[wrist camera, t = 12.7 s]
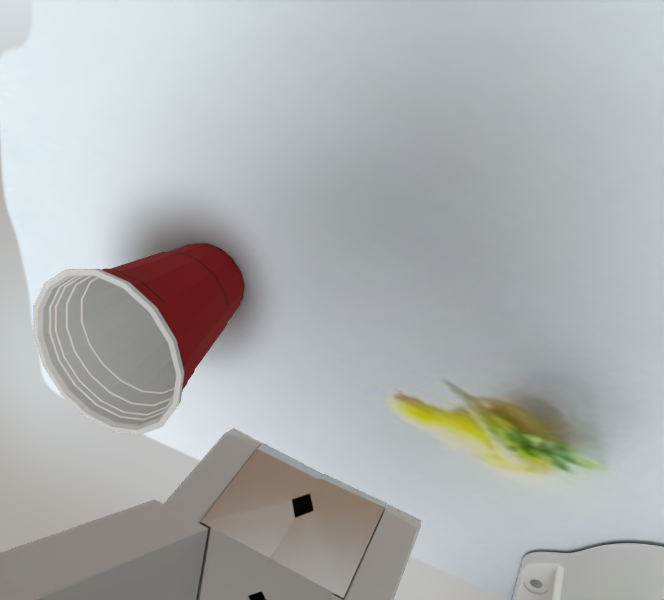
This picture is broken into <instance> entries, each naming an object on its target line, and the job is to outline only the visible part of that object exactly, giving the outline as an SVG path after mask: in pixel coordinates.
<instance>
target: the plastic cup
mask: <svg viewBox="0 0 664 600" xmlns="http://www.w3.org/2000/svg"><path fill="white" fill-rule="evenodd" d="M243 291H244V284H243V280H242V276H241V272H240V270H239V269H238V267H237V266H236V264H235V262H234V261H233V259H232V258H231V257H229V256H228V255H227V254H226V253H225V252H224V251H222V250H221V249H219V248H217V247H214V246H212V245H209V244H193V245H186V246H184V247H181V248H178V249H175V250H172V251H169V252H162V253H159V254H156V255H153V256H149V257H146V258H143V259H140V260H137V261H134V262H130V263H127V264H124V265H121V266H118V267H114V268H111V269H103V270H100V269H68V270H64V271H62V272H61V273H59V274H58V275H56V276H55V277H53V278H52V279H50V280H48V281H47V282H45V283H44V285H43V287H42V289H41V292H40V294H39V296H38V298H37V300H36V302H35V305H34V339H35V342H36V345H37V348H38V351H39V354H40V357H41V360H42V363H43V366H44V368H45V370H46V371H47V373H48V374H49V376H50V377H51V379H52V380H53V382H54V384H55V385H56V387H57V388H58V390H59V391H60V393H61V394H62V396H64V397H65V398H66V399H67V400H68V401H69V402H70V403H71V404H72V405H73V406H74V407H75V408H76V409H78V410H79V411H80V412H81V413H82V414H83V415H84V416H85V417H86V418H88V419H90V420H92V421H94V422H96V423H98V424H100V425H102V426H103V427H105V428H107V429H109V430H111V431H113V432H121V433H129V434H137V435H141V434H144V433H146V432H149V431H152V430H154V429H157V428H160V427H162V426H163V425H164V424H165V423H166V421H167V420H168V419H169V417H170V416H171V415H172V413H173V412H174V411H175V409H176V408H177V407H178V405H179V403H180V401H181V395H182V391H183V388H184V387H185V386H186V384H187V381H188V380H189V379H190V377H191V376H192V374H193V373H194V370H195V368H196V367H197V365H198V364H199V363H200V361H201V360H202V359H203V357H204V356H205V354H206V353H207V352H208V350H209V349H210V348H211V346H212V345H213V343H214V342H215V341H216V339H217V338H218V337H219V335H220V334H221V332H222V331H223V329H224V328H225V327H226V325H227V322H228V321H229V319H230V318H231V316H232V315H233V314H234V312H235V311H236V309H237V308H238V307H239V305H240V302H241V300H242V298H243Z"/></svg>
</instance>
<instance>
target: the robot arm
mask: <svg viewBox="0 0 664 600" xmlns="http://www.w3.org/2000/svg"><path fill="white" fill-rule="evenodd" d="M386 505H387V503H385V502H383V501H381V500H379V499H377V498H374V497H372V496H370V495H368V494H366V493H364V492H362V491H360V490H358V489H355V488H353V487H351V486H349V485H347V484H345V483H343V482H341V481H339V480H336V479H334V478H332V477H330V476H328V475H326V474H322V473H320V472H318V471H316V470H314V469H312V468H310V467H308V466H306V465H304V464H302V463H301V462H299V461H297V460H295V459H293V458H291V457H289V456H287V455H285V454H283V453H281V452H279V451H277V450H276V449H274V448H272V447H270V446H268V445H266V444H264V443H261V442H259V441H257V440H255V439H253V438H252V437H250V436H248V435H246V434H244V433H242V432H240V431H238V430H236V429H232V430H230V431H229V432H227V433H225V434H224V435H223V436H222V437H221V439H220V440H219V441H218V442H217V443H216V444H215V445H214V447H213V448H212V449H211V450H210V451H209V452H208V453H207V455H206V456H205V457H204V458H203V459H202V460H201V462H200V463H199V464H198V465H197V466H196V467H195V469H194V470H193V471H192V472H191V473H190V474H189V475H188V477H187V478H186V479H185V480H184V481H183V482H182V483H181V485H180V486H179V487H178V488H177V489H176V490H175V492H174V493H173V494H172V495H171V496H170V497H169V498H168V500H167V501H166V502H165V503H164V504H162V503H161V502H159V501H157V500H152V501H149V502H146V503H143V504H140V505H137V506H134V507H131V508H128V509H126V510H123V511H120V512H117V513H114V514H111V515H108V516H105V517H102V518H100V519H97V520H94V521H91V522H88V523H85V524H82V525H79V526H76V527H73V528H71V529H68V530H65V531H62V532H59V533H56V534H53V535H50V536H48V537H44V538H41V539H39V540H36V541H33V542H30V543H27V544H24V545H21V546H18V547H15V548H13V549H10V550H7V551H4V552H1V553H0V600H393V599H394V596H395V594H396V591H397V588H398V586H399V583H400V580H401V578H402V575H403V572H404V570H405V567H406V564H407V562H408V559H409V556H410V553H411V551H412V548H413V545H414V543H415V540H416V537H417V535H418V532H419V529H420V526H421V520H419V519H417V518H415V517H413V516H411V515H409V514H407V513H405V512H403V511H401V510H399V509H396V508H394V507H392V506H390V505H387V507H386ZM385 508H386V509H385ZM512 600H664V547H662V546H656V545H648V544H637V543H621V544H609V545H602V546H597V547H593V548H589V549H586V550H582V551H578V552H573V553H557V552H532V553H529V554H527V555H525V557H524V558H523V560H522V564H521V568H520V572H519V575H518V579H517V583H516V587H515V590H514V594H513V598H512Z"/></svg>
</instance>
